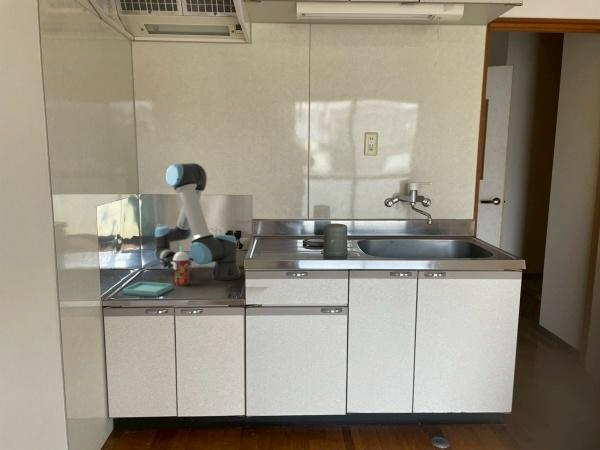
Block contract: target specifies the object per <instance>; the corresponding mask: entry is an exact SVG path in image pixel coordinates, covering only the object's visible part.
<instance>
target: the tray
mask: <svg viewBox="0 0 600 450" xmlns="http://www.w3.org/2000/svg"><path fill="white" fill-rule="evenodd" d="M172 289H173V283H166V282H165V283H163V282H151V281H138V282H136V283H134V284H132V285H129V286H126V287H125V288H123V289H122V295H127V296H128V295H129V296H140V297H155V298H157V297H159V296H160V295H163V294H165V293H166V292H169V291H170V290H172Z"/></svg>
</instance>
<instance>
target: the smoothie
mask: <svg viewBox="0 0 600 450" xmlns="http://www.w3.org/2000/svg"><path fill="white" fill-rule="evenodd" d="M175 253H176V254H175V255H174V257H173V262H174V263H176V264H177V269H174V268H173V273H174V274H173V275H174V282H175V285H176V286H179V287H184V286H187V285H188V284H189V282H190V266H189V259H190V258H191V257H190V256H189V254H188V253H187V252H185V251H183V250H182V246H181V245H180V246H179V251H177V252H175ZM189 257H190V258H189Z"/></svg>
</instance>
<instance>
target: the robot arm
mask: <svg viewBox="0 0 600 450" xmlns="http://www.w3.org/2000/svg"><path fill="white" fill-rule="evenodd" d="M207 177H208V175H207V171H206V170H205V168H204V167H203V166H202V165H200V164H199V163H195V162H193V163H191V162H190V163H179V162H178V163H173V164H171V165H170V166H169V167H167V170H166V173H165V180H166V183H167V185H168V186H169V187H171V188H173V189H174V192H175V194H176V193H177V194H178V197H179V198H180V201H181V204H182V206H181V209H180V212H179V216H178V219H177V222H176V225H175V227H173V228H170V227H169V226H167V225H166V226H163V225H162V226H157V227H156V228H155V230H154V232H155V233H154V234H155V235H154V237H155V243H156V244H155V248H156V249H155V250H154V252H153V253H154V258H156V259H157V261H160V264H161V265H163V268H167V269H171V268H172V269H173V270H174V269H177V264H176V263H174V262H173V257H174V255H175V254H176V253H177V252H174V251H173V250H171V243H174V242H180V241H185V240H186V241H187V240H189V239H190V238H191V236H192V239H191V245H190V246H189V255H190V256H188V257H189V258H190V259H189V267H192V268H194V267H195V266H194V265H195V264H194V263H197V264H198V265H208V264H210V263H211V264H212V263H214V266H213V269H212V274H211V276H212V279H213V280H215V281H224V282H225V281H233V280H237V279H239V278H241V270H240V268H239V266H238V265H239V264H238V261H237V260H238V257H237V255H238V254H237V252H238V251H237V247H238V246H237V238H236V236H234V235H228V234H227V235H226V234H215V235H214V234H213V233H211V232H210V230H209V228H208V224H207V221H206V219H205V215H204V212H203V209H202V206H201V203H200V199H201V195H202V192H203V191H205V189H206V186H207V182H208V178H207Z"/></svg>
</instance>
